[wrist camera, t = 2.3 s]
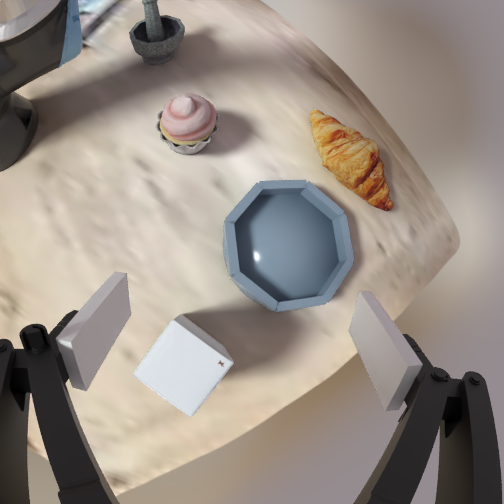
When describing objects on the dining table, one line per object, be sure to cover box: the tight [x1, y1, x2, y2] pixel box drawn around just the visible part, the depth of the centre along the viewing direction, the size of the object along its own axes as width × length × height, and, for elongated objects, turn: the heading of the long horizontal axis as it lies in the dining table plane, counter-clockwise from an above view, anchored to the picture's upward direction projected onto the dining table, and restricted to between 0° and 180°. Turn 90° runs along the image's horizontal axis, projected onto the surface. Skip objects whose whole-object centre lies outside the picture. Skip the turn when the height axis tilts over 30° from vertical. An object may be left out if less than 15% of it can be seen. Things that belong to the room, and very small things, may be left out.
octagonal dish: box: [223, 180, 354, 312], centre depth 42 cm, size 18×18×4 cm
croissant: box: [310, 110, 394, 211], centre depth 46 cm, size 21×10×8 cm, turn 38°
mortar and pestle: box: [129, 0, 185, 65], centre depth 40 cm, size 11×9×12 cm
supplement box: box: [133, 314, 234, 417], centre depth 32 cm, size 7×7×13 cm
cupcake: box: [156, 94, 220, 155], centre depth 39 cm, size 9×9×10 cm
